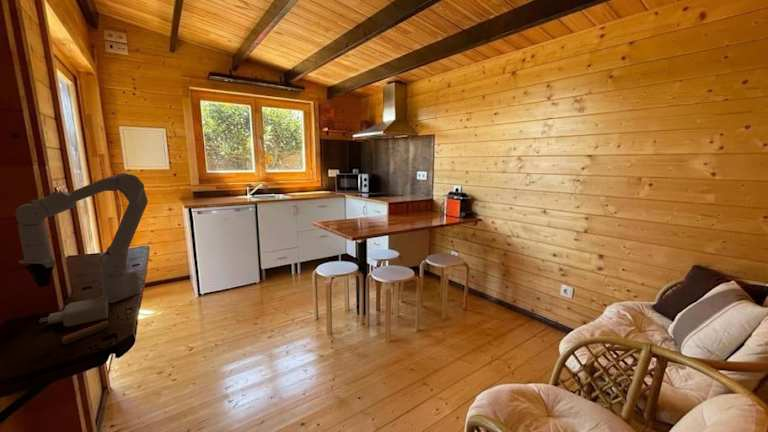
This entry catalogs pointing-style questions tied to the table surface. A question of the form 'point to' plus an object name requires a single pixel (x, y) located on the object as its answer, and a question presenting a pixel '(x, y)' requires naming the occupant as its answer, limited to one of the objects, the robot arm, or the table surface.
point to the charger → (81, 312)
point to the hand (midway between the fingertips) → (43, 285)
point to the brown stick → (85, 332)
